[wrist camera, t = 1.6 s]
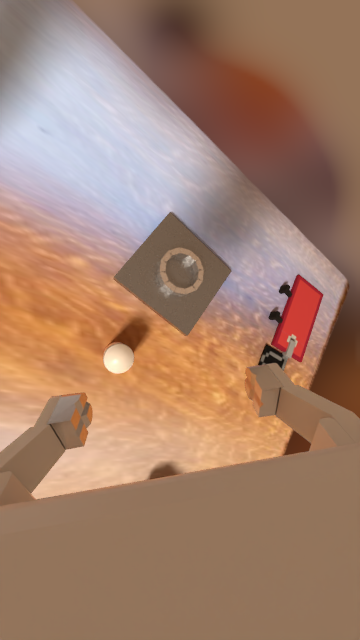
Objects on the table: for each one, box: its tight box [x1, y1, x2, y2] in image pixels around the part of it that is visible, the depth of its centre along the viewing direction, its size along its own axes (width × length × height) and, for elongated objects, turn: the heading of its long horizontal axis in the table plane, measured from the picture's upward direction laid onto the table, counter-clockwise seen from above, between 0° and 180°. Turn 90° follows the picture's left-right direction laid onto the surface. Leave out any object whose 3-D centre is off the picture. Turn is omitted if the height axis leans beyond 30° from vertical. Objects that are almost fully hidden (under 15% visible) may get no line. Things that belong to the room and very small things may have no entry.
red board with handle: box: [259, 275, 323, 371], centre depth 59 cm, size 30×3×15 cm
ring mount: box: [114, 213, 231, 336], centre depth 47 cm, size 20×20×4 cm
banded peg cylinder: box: [103, 342, 134, 373], centre depth 40 cm, size 5×5×8 cm
